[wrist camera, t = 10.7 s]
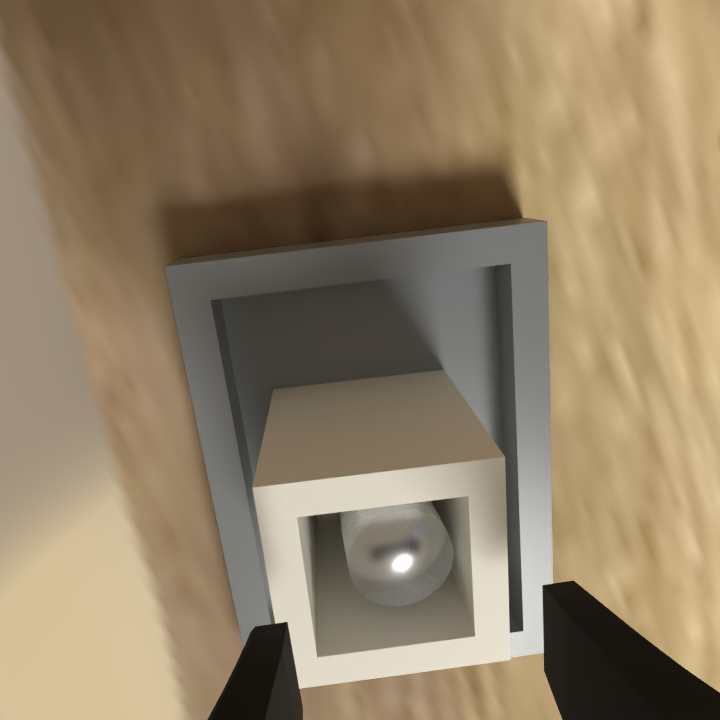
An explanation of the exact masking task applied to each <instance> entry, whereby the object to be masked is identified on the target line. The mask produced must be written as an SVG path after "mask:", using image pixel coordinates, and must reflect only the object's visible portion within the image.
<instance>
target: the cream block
mask: <svg viewBox="0 0 720 720" xmlns="http://www.w3.org/2000/svg"><path fill="white" fill-rule="evenodd" d="M252 489H253V495H254V500H255V506H256V512H257V518H258V524H259V530H260V536H261V542H262V548H263V554H264V560H265V566H266V572H267V578H268V584H269V590H270V596H271V601H272V607H273V613H274V619H275V624H276V623H283V622H288V628H289V633H290V639H291V645H292V650H293V656H294V662H295V667H296V673H297V678H298V684H299V689H300V688H308V687H315V686H323V685H330V684H337V683H345V682H352V681H359V680H367V679H374V678H381V677H389V676H396V675H404V674H411V673H418V672H426V671H433V670H440V669H448V668H455V667H462V666H470V665H477V664H485V663H492V662H499V661H507V660H510V623H509V585H508V547H507V510H506V472H505V456H504V455H503V453H502V452H501V450H500V449H499V448H498V446H497V445H496V443H495V442H494V440H493V439H492V438H491V436H490V435H489V433H488V432H487V430H486V429H485V428H484V426H483V425H482V423H481V422H480V420H479V419H478V418H477V416H476V415H475V413H474V412H473V410H472V409H471V408H470V406H469V405H468V403H467V402H466V400H465V399H464V398H463V396H462V395H461V393H460V392H459V390H458V389H457V388H456V386H455V385H454V383H453V382H452V380H451V379H450V378H449V376H448V375H447V373H446V372H445V370H437V371H429V372H420V373H411V374H403V375H394V376H385V377H376V378H368V379H359V380H350V381H341V382H333V383H324V384H315V385H307V386H298V387H289V388H280V389H273V394H272V398H271V403H270V408H269V412H268V417H267V422H266V426H265V431H264V436H263V440H262V445H261V450H260V454H259V459H258V464H257V468H256V473H255V478H254V482H253V487H252ZM425 501H432V503H433V505H434V507H435V509H436V511H437V513H438V515H439V517H440V519H441V521H442V522H443V524H444V526H445V528H446V530H447V532H448V534H449V536H450V538H451V541H452V544H453V549H454V558H453V564H452V568H451V570H450V573H449V575H448V577H447V578H446V580H445V581H444V583H443V584H442V585H441V586H440V587H439V588H438V589H437V590H436V591H435V592H434V593H433V594H431V595H430V596H428V597H427V598H425V599H423V600H421V601H419V602H416V603H414V604H410V605H405V606H386V605H381V604H378V603H375V602H373V601H371V600H369V599H367V598H366V597H364V596H363V595H362V594H361V593H360V592H359V591H358V590H357V589H356V587H355V586H354V584H353V582H352V580H351V577H350V573H349V569H348V564H347V558H346V553H345V548H344V543H343V538H342V533H341V528H340V523H339V518H338V513H337V512H344V511H352V510H361V509H369V508H377V507H385V506H393V505H401V504H409V503H417V502H425Z"/></svg>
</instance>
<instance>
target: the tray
mask: <svg viewBox="0 0 720 720" xmlns="http://www.w3.org/2000/svg"><path fill="white" fill-rule="evenodd" d="M164 268H165V273H166V278H167V283H168V288H169V292H170V297H171V302H172V307H173V312H174V316H175V321H176V326H177V331H178V336H179V341H180V345H181V350H182V355H183V360H184V365H185V369H186V374H187V379H188V384H189V389H190V394H191V398H192V403H193V408H194V413H195V418H196V422H197V427H198V432H199V437H200V442H201V447H202V451H203V456H204V461H205V466H206V471H207V475H208V480H209V485H210V490H211V495H212V500H213V504H214V509H215V514H216V519H217V524H218V528H219V533H220V538H221V543H222V548H223V553H224V557H225V562H226V567H227V572H228V577H229V581H230V586H231V591H232V596H233V601H234V606H235V610H236V615H237V620H238V625H239V630H240V634H241V639H242V644H243V648H244V646H245V644H246V641H247V639H248V637H249V634H250V632H251V631H252V630H253V629H254V627H255V626H262V625H269V624H275V619H274V613H273V607H272V601H271V596H270V590H269V584H268V578H267V572H266V566H265V560H264V554H263V548H262V542H261V536H260V530H259V524H258V518H257V512H256V506H255V500H254V495H253V489H252V487H253V482H254V478H255V473H256V468H257V464H258V459H259V454H260V450H261V445H262V440H263V436H264V431H265V426H266V422H267V417H268V412H269V408H270V403H271V398H272V394H273V389H280V388H289V387H298V386H307V385H315V384H324V383H333V382H341V381H350V380H359V379H368V378H376V377H385V376H394V375H403V374H411V373H420V372H429V371H437V370H445V372H446V373H447V375H448V376H449V378H450V379H451V380H452V382H453V383H454V385H455V386H456V388H457V389H458V390H459V392H460V393H461V395H462V396H463V398H464V399H465V400H466V402H467V403H468V405H469V406H470V408H471V409H472V410H473V412H474V413H475V415H476V416H477V418H478V419H479V420H480V422H481V423H482V425H483V426H484V428H485V429H486V430H487V432H488V433H489V435H490V436H491V438H492V439H493V440H494V442H495V443H496V445H497V446H498V448H499V449H500V450H501V452H502V453H503V455H504V456H505V472H506V510H507V547H508V585H509V623H510V658H512V657H519V656H525V655H532V654H539V653H544V635H543V590H542V585H548V584H553V564H552V502H551V439H550V377H549V314H548V252H547V221H543V220H536V219H529V218H517V219H508V220H500V221H492V222H483V223H475V224H466V225H458V226H449V227H441V228H433V229H424V230H416V231H407V232H399V233H390V234H382V235H373V236H365V237H357V238H348V239H340V240H331V241H323V242H314V243H306V244H298V245H289V246H281V247H272V248H264V249H255V250H247V251H239V252H230V253H222V254H213V255H205V256H196V257H188V258H180V259H178V260H176V261H174V262H172V263H170V264H168V265H166V266H164ZM300 689H301V688H300Z"/></svg>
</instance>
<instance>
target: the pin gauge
mask: <svg viewBox="0 0 720 720" xmlns="http://www.w3.org/2000/svg"><path fill="white" fill-rule="evenodd" d="M337 513H338V518H339V523H340V528H341V533H342V538H343V543H344V548H345V553H346V558H347V564H348V569H349V573H350V577H351V580H352V582H353V584H354V586H355V587H356V589H357V590H358V591H359V592H360V593H361V594H362V595H363V596H364V597H366V598H367V599H369V600H371V601H373V602H375V603H378V604H381V605H386V606H405V605H410V604H414V603H416V602H419V601H421V600H423V599H425V598H427V597H428V596H430V595H431V594H433V593H434V592H435V591H436V590H437V589H438V588H439V587H440V586H441V585H442V584H443V583H444V581H445V580H446V578H447V577H448V575H449V573H450V570H451V568H452V564H453V558H454V549H453V544H452V541H451V538H450V536H449V534H448V532H447V530H446V528H445V526H444V524H443V522H442V521H441V519H440V517H439V515H438V513H437V511H436V509H435V507H434V505H433V503H432V501H425V502H417V503H409V504H401V505H393V506H385V507H377V508H369V509H361V510H352V511H344V512H337Z"/></svg>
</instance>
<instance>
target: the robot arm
mask: <svg viewBox="0 0 720 720" xmlns="http://www.w3.org/2000/svg"><path fill="white" fill-rule="evenodd" d="M542 590H543V635H544V671H545V674H546V677H547V679H548V682H549V685H550V688H551V690H552V693H553V696H554V698H555V701H556V704H557V706H558V709H559V712H560V714H561V717H562V719H563V720H720V693H719V692H718V691H716V690H715V689H713V688H712V687H710V686H709V685H708V684H706V683H705V682H703V681H702V680H700V679H699V678H697V677H696V676H695V675H693V674H692V673H690V672H689V671H688V670H686V669H685V668H683V667H682V666H681V665H679V664H678V663H677V662H675V661H674V660H673V659H671V658H670V657H669V656H667V655H666V654H665V653H663V652H662V651H661V650H659V649H658V648H657V647H656V646H654V645H653V644H652V643H650V642H649V641H648V640H646V639H645V638H644V637H643V636H641V635H640V634H639V633H637V632H636V631H635V630H634V629H632V628H631V627H630V626H629V625H627V624H626V623H625V622H624V621H623V620H621V619H620V618H619V617H618V616H616V615H615V614H614V613H613V612H611V611H610V610H609V609H608V608H606V607H605V606H604V605H603V604H602V603H600V602H599V601H598V600H597V599H595V598H594V597H593V596H592V595H591V594H589V593H588V592H587V591H586V590H584V589H583V588H582V587H581V586H579V585H578V584H577V583H576V582H574V581H568V582H561V583H555V584H548V585H542ZM208 720H303V707H302V701H301V695H300V690H299V684H298V678H297V673H296V667H295V662H294V656H293V650H292V645H291V639H290V633H289V628H288V622H283V623H276V624H269V625H262V626H255V627H254V629H253V630H252V631H251V632H250V634H249V637H248V639H247V641H246V644H245V646H244V648H243V651H242V653H241V655H240V657H239V659H238V661H237V664H236V666H235V668H234V670H233V672H232V674H231V676H230V678H229V680H228V682H227V684H226V686H225V688H224V690H223V692H222V694H221V696H220V697H219V699H218V701H217V703H216V705H215V707H214V709H213V711H212V712H211V714H210V716H209V718H208Z"/></svg>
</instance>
